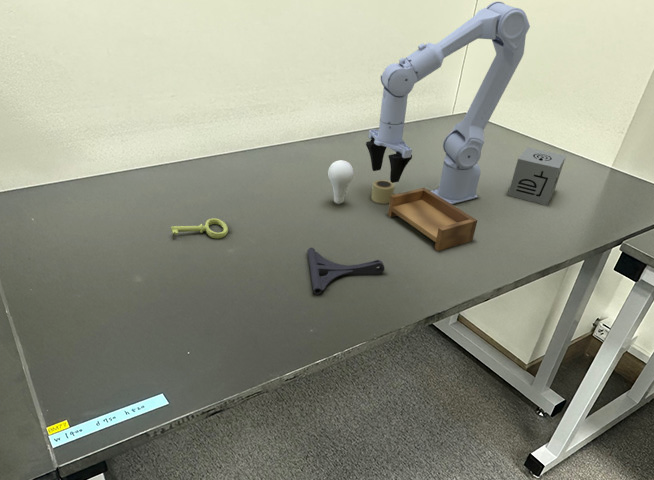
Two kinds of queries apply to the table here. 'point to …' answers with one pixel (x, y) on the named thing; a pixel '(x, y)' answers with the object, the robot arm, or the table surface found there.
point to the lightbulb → (340, 179)
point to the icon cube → (536, 175)
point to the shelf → (433, 217)
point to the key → (203, 228)
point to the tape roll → (382, 191)
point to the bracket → (336, 270)
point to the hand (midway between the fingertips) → (385, 175)
